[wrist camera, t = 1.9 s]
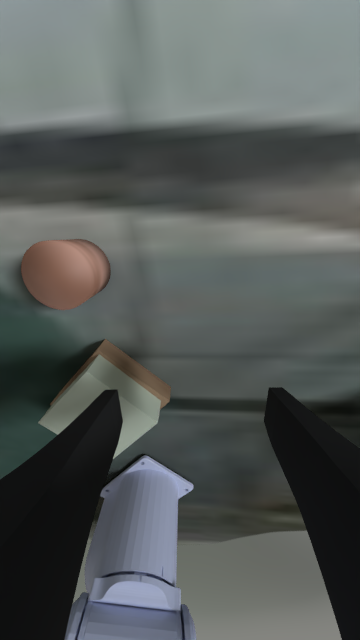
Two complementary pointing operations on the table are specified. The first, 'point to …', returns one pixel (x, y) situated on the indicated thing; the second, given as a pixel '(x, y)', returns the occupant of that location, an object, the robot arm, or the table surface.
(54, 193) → the table surface
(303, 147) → the table surface
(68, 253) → the salmon pink cylinder
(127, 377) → the sage top slab
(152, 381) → the walnut base slab
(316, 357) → the table surface
